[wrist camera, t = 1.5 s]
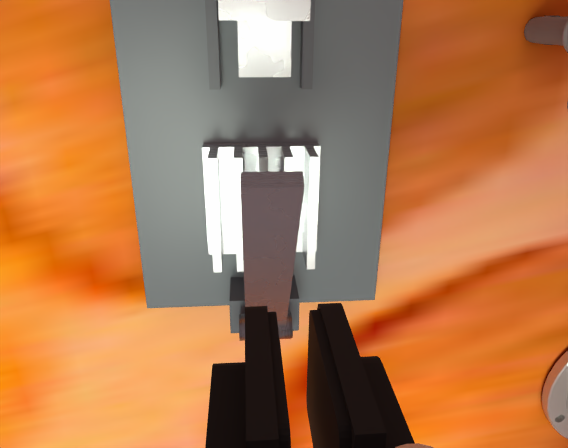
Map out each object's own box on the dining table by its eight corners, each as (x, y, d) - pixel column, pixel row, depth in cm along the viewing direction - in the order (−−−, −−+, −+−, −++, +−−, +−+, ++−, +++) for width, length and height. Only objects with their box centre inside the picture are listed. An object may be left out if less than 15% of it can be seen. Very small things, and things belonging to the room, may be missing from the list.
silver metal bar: (289, 318, 31) (291, 342, 30) (239, 320, 31) (239, 344, 30) (311, 163, 19) (316, 195, 18) (229, 164, 19) (229, 197, 18)
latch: (295, 65, 28) (308, 77, 22) (225, 65, 27) (221, 77, 22) (297, -42, 25) (312, -58, 20) (221, -43, 25) (215, -60, 20)
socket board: (369, 291, 36) (385, 326, 32) (151, 299, 35) (139, 336, 31) (399, -49, 27) (427, -60, 23) (110, -54, 26) (85, -68, 22)
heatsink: (314, 244, 32) (322, 269, 29) (209, 247, 32) (205, 272, 29) (318, 142, 30) (327, 156, 27) (203, 143, 29) (198, 158, 26)
